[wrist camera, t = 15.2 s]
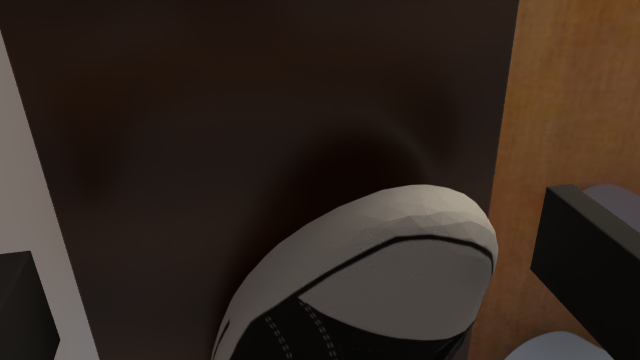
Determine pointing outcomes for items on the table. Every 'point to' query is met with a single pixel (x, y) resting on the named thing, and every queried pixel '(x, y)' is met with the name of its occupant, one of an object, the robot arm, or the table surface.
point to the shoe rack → (240, 136)
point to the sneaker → (368, 282)
